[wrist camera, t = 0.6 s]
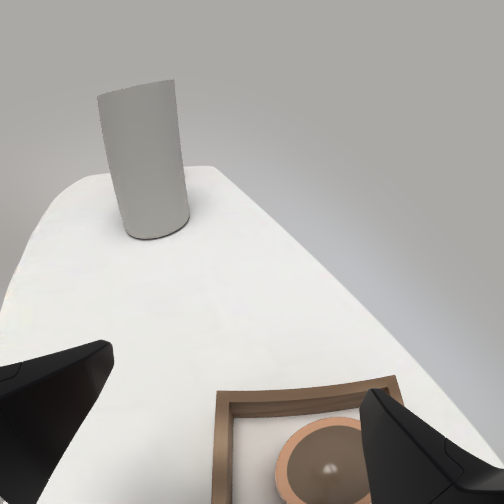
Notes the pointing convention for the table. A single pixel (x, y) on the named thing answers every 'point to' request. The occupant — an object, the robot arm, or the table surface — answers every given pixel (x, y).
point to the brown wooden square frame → (277, 406)
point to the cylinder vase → (145, 158)
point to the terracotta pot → (324, 464)
